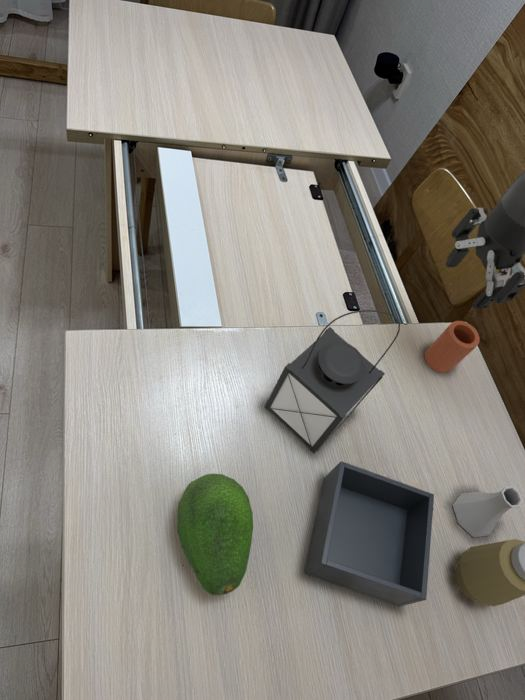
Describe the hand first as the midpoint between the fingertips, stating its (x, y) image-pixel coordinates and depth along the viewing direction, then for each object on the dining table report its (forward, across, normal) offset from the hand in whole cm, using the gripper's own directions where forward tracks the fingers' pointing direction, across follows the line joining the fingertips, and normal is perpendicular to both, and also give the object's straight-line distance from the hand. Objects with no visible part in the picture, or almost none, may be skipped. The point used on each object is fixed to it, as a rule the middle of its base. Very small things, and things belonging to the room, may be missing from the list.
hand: (463, 285), depth 81 cm
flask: (+19, -31, +4) cm, 37 cm away
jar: (+19, -4, -5) cm, 20 cm away
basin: (+19, -29, +25) cm, 43 cm away
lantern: (+19, -8, +24) cm, 32 cm away
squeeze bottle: (+19, -39, +10) cm, 45 cm away
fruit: (+19, -23, +46) cm, 55 cm away
